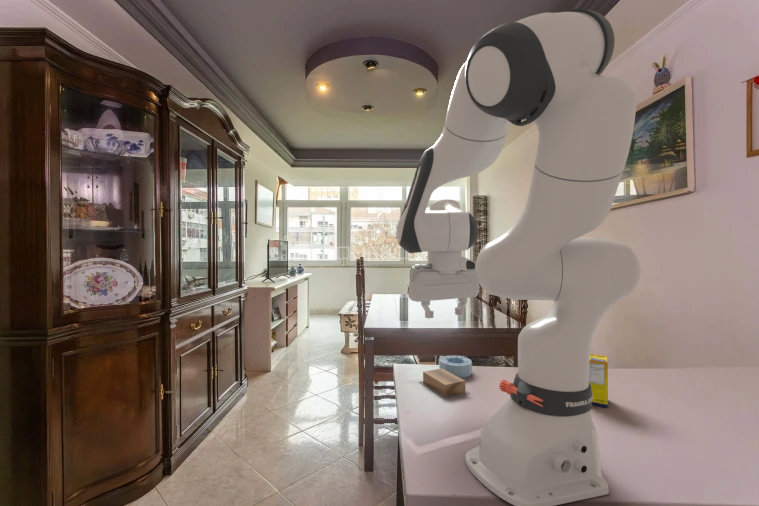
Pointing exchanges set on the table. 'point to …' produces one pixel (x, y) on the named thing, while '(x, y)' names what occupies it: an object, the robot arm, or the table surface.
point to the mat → (442, 395)
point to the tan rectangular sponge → (444, 382)
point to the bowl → (456, 365)
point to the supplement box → (599, 379)
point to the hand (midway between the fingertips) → (444, 316)
